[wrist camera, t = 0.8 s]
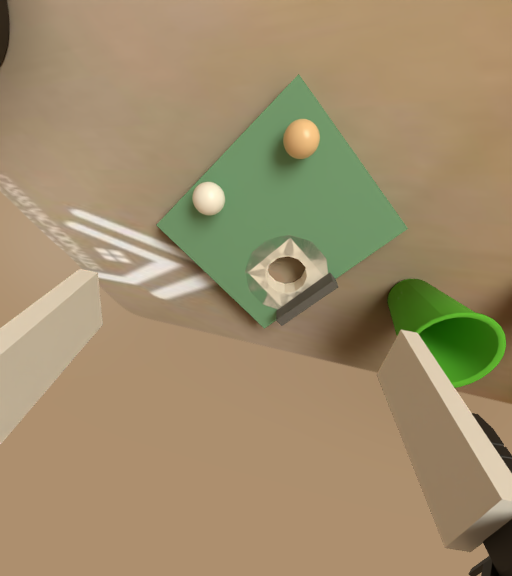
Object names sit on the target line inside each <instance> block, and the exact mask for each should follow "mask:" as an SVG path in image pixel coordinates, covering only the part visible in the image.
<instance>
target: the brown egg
mask: <svg viewBox="0 0 512 576" xmlns="http://www.w3.org/2000/svg"><path fill="white" fill-rule="evenodd" d="M319 141H320V134H319V130H318V128H317V126H316V125H315V124H314V123H313V122H312V121H310V120H307V119H298V120H295V121H294V122H292V123H291V124H290V125H289V126H288V127H287V129H286V131H285V133H284V137H283V144H284V147H285V150H286V152H287V153H288V154H289V155H290V156H291V157H293V158H296V159H305V158H308V157H309V156H311V155H312V154H313V153H314V152H315V151H316V149H317V147H318V145H319Z"/></svg>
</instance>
